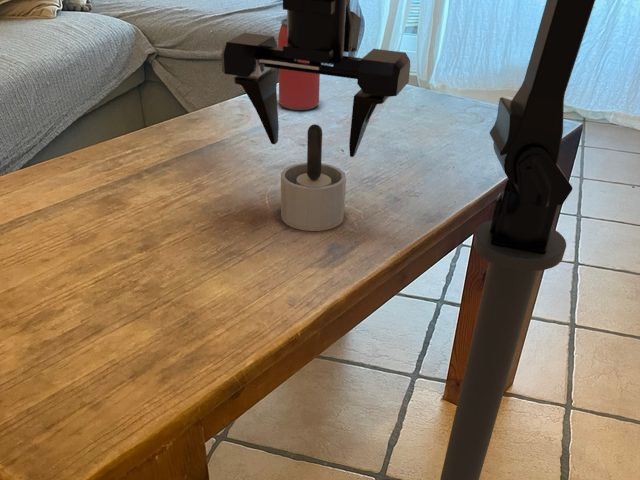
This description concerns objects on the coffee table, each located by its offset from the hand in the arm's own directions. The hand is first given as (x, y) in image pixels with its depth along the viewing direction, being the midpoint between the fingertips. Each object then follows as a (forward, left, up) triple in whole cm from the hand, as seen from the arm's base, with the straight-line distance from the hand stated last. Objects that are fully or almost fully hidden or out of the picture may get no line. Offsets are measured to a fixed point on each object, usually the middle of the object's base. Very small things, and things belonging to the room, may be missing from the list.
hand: (313, 149), depth 73 cm
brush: (0, 0, -7) cm, 7 cm away
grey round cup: (0, 0, -8) cm, 8 cm away
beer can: (+16, -38, -8) cm, 42 cm away
